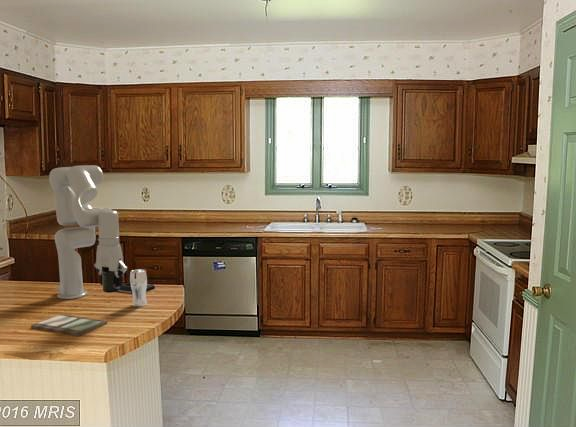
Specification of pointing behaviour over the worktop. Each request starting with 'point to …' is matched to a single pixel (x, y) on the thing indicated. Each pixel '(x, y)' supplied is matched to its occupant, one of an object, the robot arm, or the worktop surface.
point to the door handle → (127, 288)
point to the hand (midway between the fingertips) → (111, 284)
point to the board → (69, 324)
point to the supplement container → (109, 280)
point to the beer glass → (138, 287)
